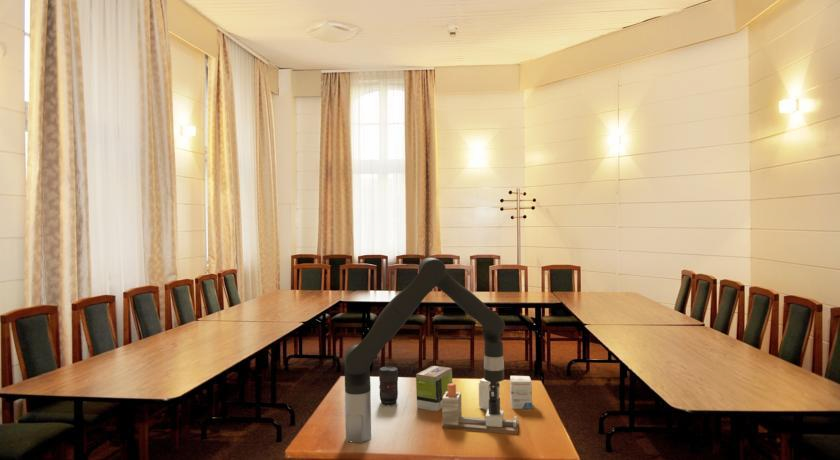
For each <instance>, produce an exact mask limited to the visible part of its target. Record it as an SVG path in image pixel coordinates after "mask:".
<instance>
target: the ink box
mask: <svg viewBox="0 0 840 460" xmlns="http://www.w3.org/2000/svg"><path fill="white" fill-rule="evenodd" d="M509 382H510V383H509V384H510V387H509V388H510V389H509V390H510V391H509V392H510V394H509V395H510V396H509V397H510V405H511V409H512V410H533V388H532V387H533V386H532V379H531V377H530V376H529V375H510V377H509Z"/></svg>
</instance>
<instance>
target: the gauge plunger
mask: <svg viewBox="0 0 840 460" xmlns="http://www.w3.org/2000/svg"><path fill="white" fill-rule="evenodd" d="M456 392H457V384H456V383H453V382H452V383H450V384H448V397H456Z"/></svg>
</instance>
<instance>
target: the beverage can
mask: <svg viewBox="0 0 840 460" xmlns="http://www.w3.org/2000/svg"><path fill="white" fill-rule="evenodd" d="M489 383H490V382H489V381H486V380H485V379H484V377H482V378H480V380H479V382H478V407H479V408H480V409H482V410H484V411H487V410H488V409H489Z"/></svg>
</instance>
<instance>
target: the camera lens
mask: <svg viewBox="0 0 840 460" xmlns="http://www.w3.org/2000/svg"><path fill="white" fill-rule="evenodd" d="M378 374H379V375H378V376H379V378H378V379H379V381H378V382H379V400H380V401H381V402H380V404H381V403H382V404H383V406H387V405H389V406H393V405H396V404H397V402H398V394H399V388H398V384H399V383H398V381H399V371H398V367H395V366H382V367H380V368H379V373H378ZM382 404H381V405H382Z"/></svg>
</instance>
